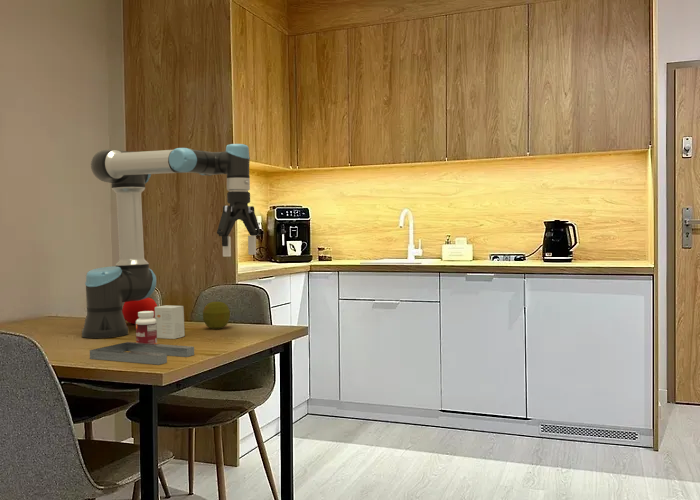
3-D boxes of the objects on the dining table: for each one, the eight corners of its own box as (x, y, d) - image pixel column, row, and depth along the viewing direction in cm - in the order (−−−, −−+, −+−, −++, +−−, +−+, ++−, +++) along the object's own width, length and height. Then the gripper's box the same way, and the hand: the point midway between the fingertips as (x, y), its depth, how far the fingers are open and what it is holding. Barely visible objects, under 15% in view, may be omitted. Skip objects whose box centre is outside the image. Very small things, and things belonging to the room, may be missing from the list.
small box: (185, 336, 232) (184, 305, 231) (174, 339, 227) (173, 307, 226) (166, 335, 235) (165, 304, 235) (155, 338, 230) (154, 306, 230)
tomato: (126, 322, 272) (125, 294, 271) (160, 321, 273) (159, 293, 273) (119, 326, 260) (118, 297, 259) (154, 325, 261) (154, 296, 261)
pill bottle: (132, 347, 212) (131, 312, 211) (149, 344, 217) (148, 310, 216) (143, 349, 208) (142, 313, 207) (161, 346, 213) (160, 311, 212)
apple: (234, 328, 248) (234, 298, 248) (209, 331, 243) (208, 300, 242) (223, 325, 256) (222, 296, 256) (198, 328, 251) (198, 298, 251)
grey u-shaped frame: (89, 358, 195) (89, 350, 195) (127, 349, 208) (127, 341, 208) (158, 364, 184) (158, 355, 184) (194, 354, 198) (194, 346, 198)
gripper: (223, 189, 214) (224, 257, 215) (269, 192, 236) (271, 253, 237) (204, 190, 218) (206, 257, 218) (252, 193, 239) (253, 253, 240)
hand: (239, 255), depth 227 cm, fingers open, 13 cm apart
